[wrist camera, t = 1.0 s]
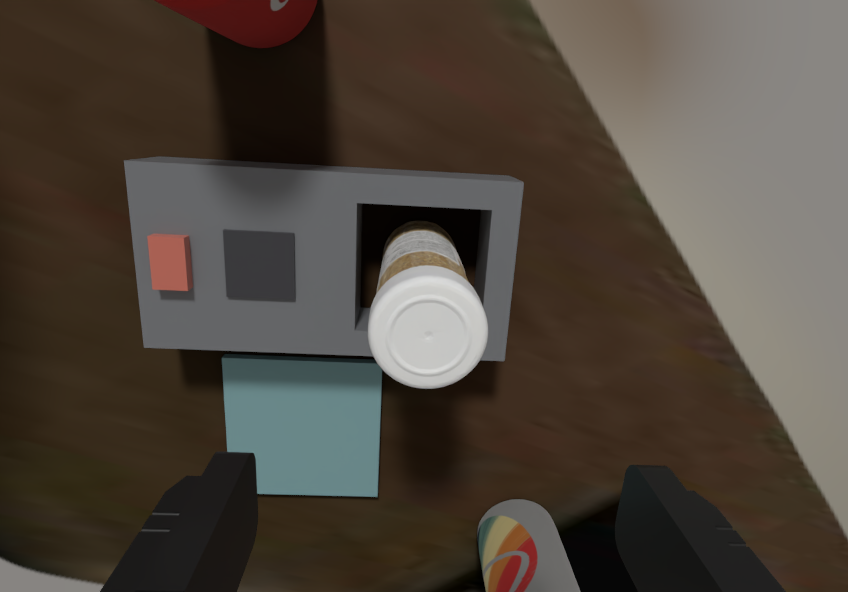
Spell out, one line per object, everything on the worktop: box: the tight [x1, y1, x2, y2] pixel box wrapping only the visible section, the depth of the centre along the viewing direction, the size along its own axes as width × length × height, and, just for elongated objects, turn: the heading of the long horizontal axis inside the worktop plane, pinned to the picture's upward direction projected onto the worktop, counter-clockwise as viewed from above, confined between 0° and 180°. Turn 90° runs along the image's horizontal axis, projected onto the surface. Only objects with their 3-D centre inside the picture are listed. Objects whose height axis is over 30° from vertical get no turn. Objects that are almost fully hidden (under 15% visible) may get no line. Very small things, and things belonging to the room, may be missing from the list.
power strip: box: [124, 157, 524, 361], centre depth 30 cm, size 20×10×5 cm, turn 87°
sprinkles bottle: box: [368, 220, 488, 389], centre depth 26 cm, size 5×5×13 cm
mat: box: [222, 354, 382, 497], centre depth 35 cm, size 10×10×1 cm
